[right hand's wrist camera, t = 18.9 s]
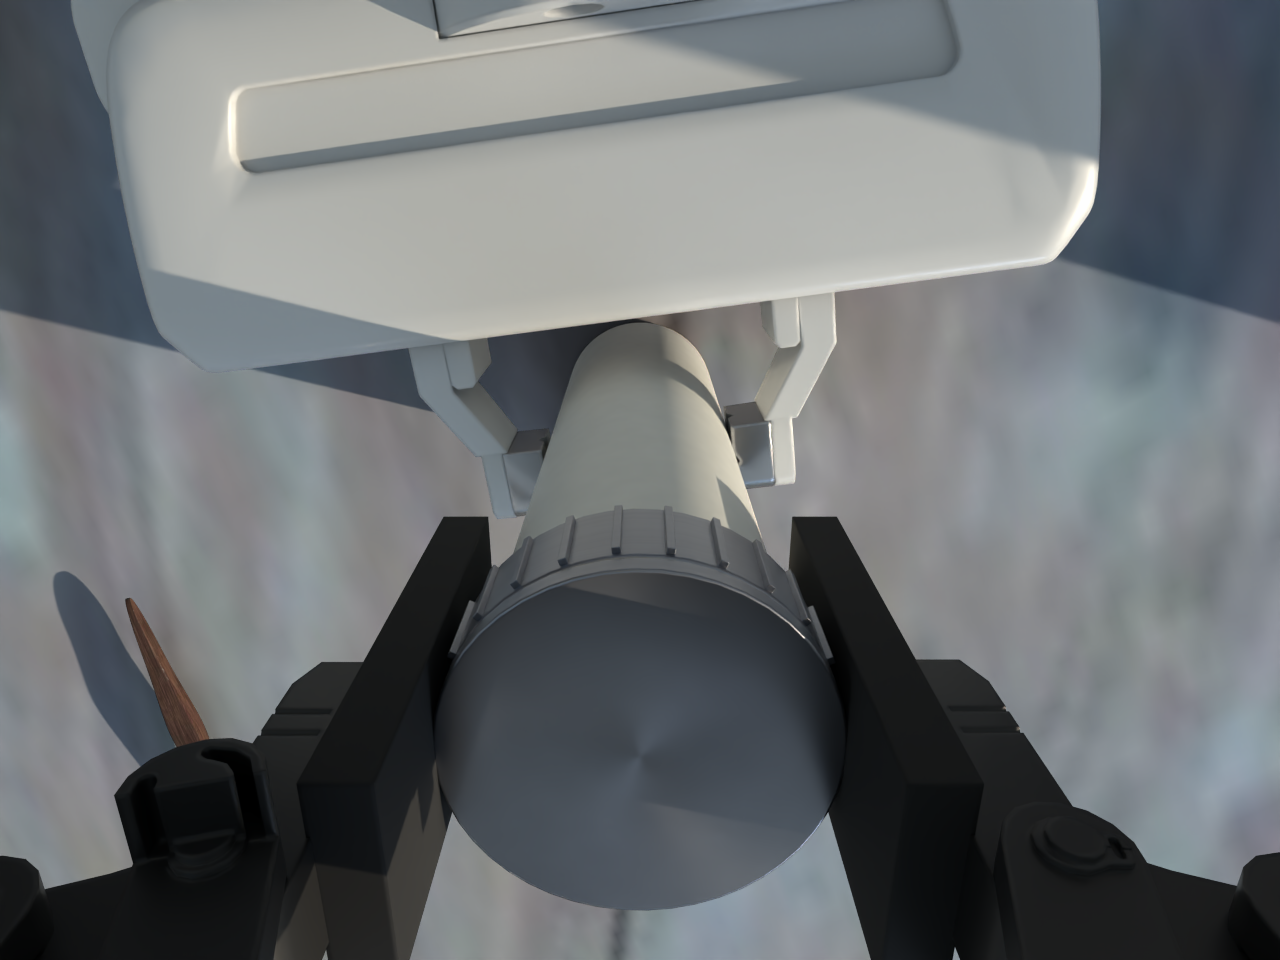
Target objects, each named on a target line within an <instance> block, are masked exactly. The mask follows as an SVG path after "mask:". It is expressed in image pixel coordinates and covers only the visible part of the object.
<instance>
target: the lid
mask: <svg viewBox="0 0 1280 960" xmlns="http://www.w3.org/2000/svg"><path fill="white" fill-rule="evenodd" d="M447 658H450V659H452V662H451V665H450V667H449V670H448V673H447V675H446V678H445V681H444V683H443V686H442V689H441V691H440V694H439V698H438V702H437V706H436V710H435V714H434V724H433V738H434V748H435V758H436V767H437V775H438V779H439V783H440V786H441V788H442V791H443V793H444V796H445V798H446V801H447V803H448V805H449V807H450V808H451V810H452V812H453V814H454V815H455V817H456V819H457V821H458V822H459V824H460V825H461V826H462V828H463V829H464V830H465V831H466V833H467V834H468V835H469V837H470V838H471V839H472V840H473V841H474V842H475V843H476V844H477V845H478V846H479V847H480V848H481V849H482V850H483V851H484V852H485V853H486V854H487V855H488V856H489V857H490V858H491V859H492V860H494V861H495V862H496V863H498V864H499V865H500V866H502V867H503V868H504V869H505V870H507V871H508V872H510V873H511V874H513V875H515V876H516V877H518V878H520V879H521V880H523V881H525V882H526V883H528V884H530V885H532V886H535V887H537V888H539V889H541V890H543V891H546V892H548V893H550V894H553V895H556V896H559V897H562V898H565V899H568V900H571V901H574V902H578V903H583V904H587V905H592V906H596V907H603V908H611V909H619V910H659V909H672V908H677V907H683V906H689V905H694V904H698V903H702V902H706V901H709V900H713V899H716V898H720V897H722V896H725V895H727V894H730V893H732V892H735V891H737V890H740V889H742V888H744V887H746V886H748V885H750V884H752V883H753V882H755V881H757V880H759V879H761V878H763V877H764V876H766V875H767V874H769V873H770V872H772V871H773V870H775V869H776V868H777V867H779V866H780V865H782V864H783V863H784V862H785V861H787V860H788V859H789V858H790V857H791V856H792V855H793V854H795V853H796V852H797V851H798V850H799V849H800V848H801V847H802V846H803V845H804V844H805V842H806V841H807V840H808V839H809V838H810V837H811V836H812V835H813V833H814V832H815V831H816V830H817V828H818V827H819V825H820V824H821V822H822V821H823V819H824V818H825V816H826V815H827V813H828V811H829V809H830V807H831V805H832V803H833V801H834V799H835V797H836V795H837V792H838V789H839V786H840V783H841V779H842V776H843V772H844V763H845V754H846V744H847V721H846V715H845V710H844V704H843V701H842V698H841V695H840V692H839V689H838V686H837V683H836V681H835V678H834V675H833V673H832V670H831V668H830V665H831V664H834V663H835V659H834V657H833V654H832V652H831V649H830V647H829V644H828V641H827V639H826V636H825V634H824V631H823V629H822V626H821V624H820V621H819V618H818V616H817V613H816V611H815V608H814V606H810V607H807V605H806V603H805V601H804V599H803V597H802V594H801V591H800V589H799V586H798V583H797V581H796V578H795V575H794V573H793V572H792V571H791V570H790V569H789V570H788V571H786V572H785V571H784V570H783V569H782V568H781V567H780V566H779V565H778V564H777V563H776V562H775V561H774V560H773V559H772V558H771V557H770V556H769V555H768V554H767V553H765V552H764V549H763V546H762V543H761V542H760V541H758V540H757V539H755V540H754V541H753V543H752V542H751V541H750V540H748V539H746V538H744V537H743V536H741V535H739V534H737V533H736V532H734V531H732V530H731V529H728V528H726V527H724V526H721V522H720V519H717V518H715V517H713V518H712V520H711V521H709V520H706V519H703V518H699V517H696V516H692V515H688V514H685V513H679V512H673V508H672V506H664V510H659V509H624V510H623V507H622V505H617V506H614V511H606V512H601V513H597V514H592V515H588V516H583V517H580V518H578V519H575V517H574V515H571V516H568V517H566V521H565V523H563V524H560V525H558V526H556V527H554V528H552V529H550V530H548V531H546V532H544V533H542V534H540V535H539V536H537V537H536V538H534V539H532V537H531V536H528V537H526V538H525V539H524V540H523V543H522V547H521V548H519V549H518V550H517V551H516V552H515V553H514V554H513V555H511V556H510V557H509V558H508V559H507V560H506V561H505V562H504V563H503V564H502V565H501V566H500V567H499V568H498V567H497V566H496V565H493V567H492V568H491V569H490V571H489V574H488V576H487V579H486V582H485V584H484V587H483V589H482V591H481V593H480V594H479V596H478V597H477V599H476V601H475V602H473V601H469V602H468V604H467V607H466V609H465V612H464V614H463V617H462V619H461V622H460V625H459V627H458V630H457V632H456V635H455V637H454V640H453V642H452V645H451V648H450V650H449V653H448V655H447Z"/></svg>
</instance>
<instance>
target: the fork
mask: <svg viewBox="0 0 1280 960" xmlns="http://www.w3.org/2000/svg"><path fill="white" fill-rule="evenodd" d="M125 601H126V607H127V611H128V615H129V618H130V621H131V624H132V627H133V631H134V633H135V636H136V639H137V642H138V645H139V648H140V651H141V653H142V656H143V659H144V662H145V664H146V667H147V670H148V673H149V676H150V679H151V682H152V685H153V688H154V691H155V694H156V697H157V700H158V703H159V706H160V709H161V712H162V715H163V717H164V720H165V723H166V726H167V728H168V730H169V733H170V735H171V737H172V739H173V741H174V743H175V745H176V747H178V746H182V745H186V744H190V743H194V742H198V741H202V740H205V739H209V736H208V734H207V731H206V729H205V726H204V724H203V722H202V720H201V718H200V716H199V714H198V712H197V711H196V709H195V707H194V705H193V704H192V702H191V700H190V699H189V697H188V695H187V694H186V692H185V690H184V688H183V687H182V685H181V683H180V682H179V680H178V678H177V677H176V675H175V673H174V671H173V670H172V668H171V666H170V664H169V662H168V660H167V659H166V657H165V655H164V653H163V651H162V649H161V647H160V645H159V643H158V642H157V640H156V638H155V636H154V634H153V632H152V630H151V629H150V627H149V625H148V623H147V622H146V620H145V618H144V616H143V615H142V613H141V611H140V610H139V608H138V607H137V605H136V604H135V602H134V601H133V600H132V599H131V598H127V599H125Z"/></svg>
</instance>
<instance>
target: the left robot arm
mask: <svg viewBox="0 0 1280 960" xmlns="http://www.w3.org/2000/svg"><path fill="white" fill-rule="evenodd" d="M71 11H72V16H73V22H74V26H75V29H76V32H77V35H78V38H79V41H80V44H81V47H82V51H83V54H84V57H85V60H86V63H87V66H88V69H89V72H90V75H91V78H92V81H93V84H94V87H95V90H96V92H97V95H98V97H99V99H100V101H101V103H102V104H103V106H104V108H105V109H106V111H107V112H108V114H109V120H110V127H111V134H112V140H113V147H114V153H115V159H116V165H117V171H118V177H119V183H120V189H121V194H122V199H123V204H124V208H125V213H126V218H127V223H128V228H129V232H130V237H131V241H132V245H133V249H134V254H135V258H136V262H137V266H138V270H139V274H140V278H141V281H142V285H143V289H144V293H145V296H146V300H147V304H148V307H149V309H150V312H151V315H152V318H153V321H154V323H155V326H156V328H157V330H158V332H159V333H160V334H161V336H162V337H163V338H164V339H165V340H166V341H168V342H169V343H170V344H171V345H172V346H173V347H175V348H176V349H177V350H178V351H179V352H180V353H182V354H183V355H184V356H185V357H186V358H187V359H189V360H190V361H191V362H193V363H194V364H195V365H197V366H198V367H199V368H200V369H202V370H204V371H206V372H210V373H221V372H230V371H237V370H245V369H253V368H260V367H268V366H275V365H283V364H291V363H298V362H306V361H314V360H321V359H329V358H336V357H344V356H352V355H359V354H367V353H374V352H382V351H390V350H397V349H405V348H408V350H409V354H410V359H411V363H412V367H413V372H414V376H415V380H416V385H417V389H418V393H419V396H420V397H421V398H422V399H423V400H424V401H425V403H426V404H427V405H428V406H429V407H430V408H431V409H432V410H433V411H434V412H435V413H436V414H437V415H438V417H439V418H440V419H441V420H442V421H443V422H444V423H445V424H446V425H447V426H448V427H449V428H450V430H451V431H452V432H453V433H454V434H455V435H456V436H457V437H458V438H459V439H460V440H461V441H462V442H463V444H464V445H465V446H466V447H467V448H468V449H469V450H470V451H471V452H472V453H473V454H474V455H475V457H481V458H482V462H483V467H484V472H485V476H486V481H487V486H488V490H489V495H490V500H491V504H492V509H493V513H494V515H495V516H496V518H497V519H504V518H516V517H518V516H525V515H526V513H527V510H528V507H529V504H530V501H531V498H532V495H533V491H534V488H535V485H536V482H537V479H538V476H539V473H540V470H541V467H542V464H543V461H544V458H545V454H546V451H547V448H548V445H549V442H550V439H551V438H550V432H549V428H547V429H538V430H528V431H518V430H517V428H516V427H515V426H514V425H513V424H512V422H511V421H510V420H509V419H508V417H507V416H506V415H505V414H504V412H503V411H502V410H501V409H500V407H499V406H498V405H497V404H496V403H495V401H494V400H493V399H492V398H491V396H490V395H489V394H488V393H487V391H486V390H485V389H484V388H483V387H482V385H481V384H480V383H479V382H478V380H479V379H480V377H481V376H482V375H483V373H484V372H485V371H486V369H487V368H488V367H489V365H490V364H491V363H492V361H491V356H490V350H489V345H488V340H487V338H489V337H496V336H504V335H512V334H519V333H527V332H534V331H542V330H550V329H557V328H565V327H572V326H580V325H588V324H595V323H603V322H611V321H618V320H626V319H633V318H641V317H649V316H656V315H664V314H671V313H679V312H687V311H694V310H702V309H710V308H717V307H725V306H732V305H740V304H748V303H755V302H760V306H761V316H762V327H763V328H764V330H765V331H766V332H767V334H768V335H769V337H770V338H771V339H772V341H773V342H774V343H775V345H777V346H778V347H779V348H778V350H777V352H776V354H775V356H774V358H773V361H772V363H771V365H770V367H769V369H768V372H767V374H766V376H765V378H764V380H763V382H762V385H761V387H760V389H759V391H758V393H757V396H756V398H755V401H756V402H750V403H743V404H736V405H730V406H724V417H725V425H726V429H727V432H728V435H729V438H730V441H731V444H732V447H733V450H734V453H735V456H736V459H737V463H738V466H739V469H740V472H741V475H742V478H743V481H744V484H745V487H746V489H751V488H760V487H769V486H777V485H785V484H793V483H794V482H795V474H796V472H795V458H794V443H793V428H792V418H795V417H797V416H798V415H799V413H800V411H801V409H802V407H803V405H804V403H805V401H806V399H807V397H808V396H809V394H810V392H811V390H812V388H813V386H814V384H815V382H816V380H817V378H818V376H819V375H820V373H821V371H822V369H823V367H824V365H825V363H826V361H827V359H828V357H829V356H830V354H831V352H832V350H833V348H834V346H835V344H836V322H835V298H834V292H839V291H847V290H854V289H862V288H870V287H877V286H885V285H892V284H900V283H908V282H915V281H923V280H930V279H938V278H946V277H953V276H961V275H969V274H976V273H984V272H991V271H999V270H1007V269H1014V268H1022V267H1029V266H1037V265H1043V264H1046V263H1049V262H1051V261H1053V260H1054V259H1055V258H1056V257H1057V256H1058V255H1059V254H1060V253H1061V251H1062V250H1063V249H1064V248H1065V247H1066V245H1067V244H1068V243H1069V241H1070V240H1071V238H1072V237H1073V236H1074V234H1075V233H1076V231H1077V230H1078V229H1079V227H1080V226H1081V224H1082V223H1083V221H1084V220H1085V219H1086V217H1087V216H1088V214H1089V213H1090V211H1091V208H1092V206H1093V203H1094V199H1095V194H1096V189H1097V181H1098V170H1099V153H1100V128H1101V59H1100V29H1099V13H1098V0H71ZM517 431H518V432H517Z"/></svg>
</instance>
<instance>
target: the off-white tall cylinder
mask: <svg viewBox="0 0 1280 960" xmlns="http://www.w3.org/2000/svg"><path fill="white" fill-rule="evenodd" d="M617 505H622V507H623V510H624V509H659V510H664V506H672V508H673V512H679V513H685V514H688V515H692V516H696V517H699V518H703V519H706V520H709V521H711V520H712V518H713V517H715V518H717V519H720V522H721V526H724V527H726V528H728V529H731V530H732V531H734V532H736V533H737V534H739V535H741V536H743V537H744V538H746V539H748V540H750V541H751V542H752V543H753V541H754V540H755V539H757V540H758V541H760V542H761V543H762V546H763V549H764V552H765V553H767V552H766V549H765V546H764V543H763V540H762V537H761V534H760V531H759V528H758V524H757V521H756V518H755V515H754V512H753V509H752V506H751V503H750V500H749V497H748V494H747V490H746V487H745V484H744V481H743V478H742V475H741V472H740V469H739V466H738V463H737V459H736V456H735V453H734V450H733V447H732V444H731V441H730V438H729V435H728V432H727V429H726V425H725V422H724V419H723V416H722V413H721V410H720V407H719V404H718V401H717V398H716V395H715V391H714V388H713V385H712V382H711V379H710V376H709V373H708V370H707V367H706V365H705V362H704V361H703V359H702V357H701V355H700V354H699V352H698V351H697V350H696V348H695V347H694V346H693V345H692V344H691V343H690V342H689V341H688V340H687V339H685V338H684V337H683V336H682V335H680V334H678V333H677V332H675V331H673V330H671V329H669V328H667V327H664V326H661V325H657V324H652V323H629V324H624V325H620V326H616V327H614V328H612V329H609V330H607V331H605V332H604V333H602V334H600V335H599V336H598V337H596V338H595V339H594V340H592V341H591V342H590V343H589V344H588V345H587V346H586V348H585V349H584V350H583V352H582V353H581V354H580V356H579V358H578V360H577V361H576V364H575V366H574V369H573V371H572V374H571V377H570V380H569V384H568V387H567V390H566V393H565V396H564V399H563V402H562V405H561V408H560V411H559V414H558V417H557V421H556V424H555V427H554V430H553V433H552V436H551V439H550V442H549V445H548V448H547V451H546V454H545V458H544V461H543V464H542V467H541V470H540V473H539V476H538V479H537V482H536V485H535V488H534V491H533V495H532V498H531V501H530V504H529V507H528V510H527V513H526V516H525V519H524V522H523V525H522V528H521V532H520V535H519V538H518V541H517V544H516V547H515V550H514V553H515V552H516V551H517V550H518V549H519V548H521V547H522V543H523V540H524V539H525V538H526V537H528V536H531V537H532V539H534V538H536V537H537V536H539V535H540V534H542V533H544V532H546V531H548V530H550V529H552V528H554V527H556V526H558V525H560V524H563V523H565V521H566V517H568V516H571V515H574V517H575V519H578V518H580V517H583V516H588V515H592V514H597V513H601V512H606V511H614V506H617ZM514 553H513V554H514Z"/></svg>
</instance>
